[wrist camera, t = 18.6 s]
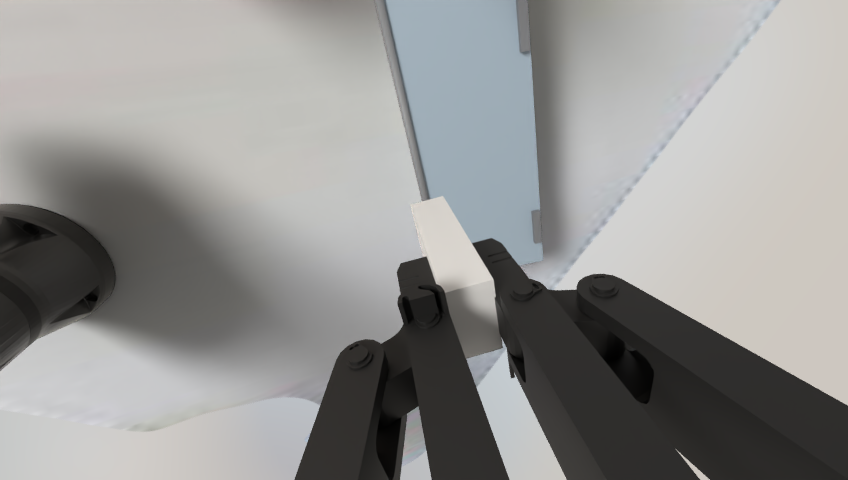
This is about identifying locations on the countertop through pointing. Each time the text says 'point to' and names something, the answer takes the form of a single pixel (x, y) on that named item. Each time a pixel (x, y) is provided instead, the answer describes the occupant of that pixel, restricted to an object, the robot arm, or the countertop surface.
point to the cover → (470, 112)
